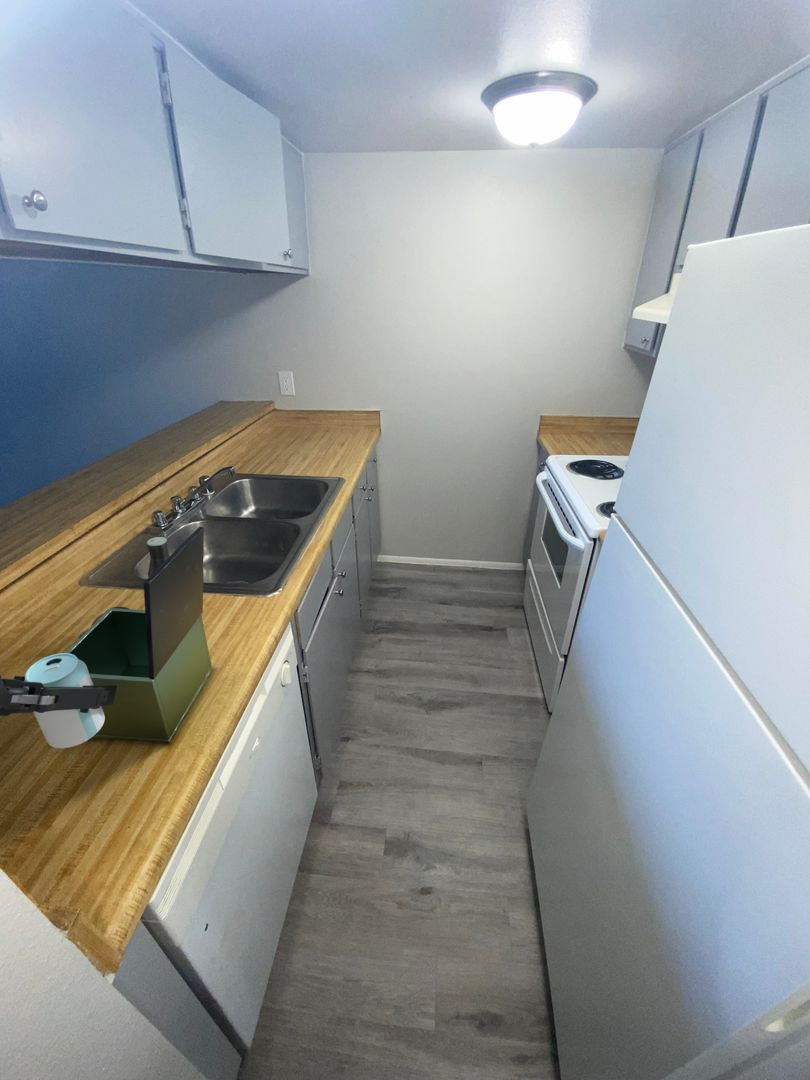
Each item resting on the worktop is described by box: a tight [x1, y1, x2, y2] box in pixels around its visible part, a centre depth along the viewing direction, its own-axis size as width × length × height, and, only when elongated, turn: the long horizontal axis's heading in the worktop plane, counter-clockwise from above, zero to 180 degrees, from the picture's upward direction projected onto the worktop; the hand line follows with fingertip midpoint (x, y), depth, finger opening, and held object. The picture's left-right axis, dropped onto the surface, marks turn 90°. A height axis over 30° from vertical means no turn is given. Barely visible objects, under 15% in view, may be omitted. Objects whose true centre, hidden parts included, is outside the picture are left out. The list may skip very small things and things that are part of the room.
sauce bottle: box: [146, 536, 171, 578], centre depth 107 cm, size 7×6×20 cm
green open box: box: [64, 607, 214, 745], centre depth 85 cm, size 18×18×14 cm
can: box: [24, 652, 105, 749], centre depth 65 cm, size 7×7×12 cm
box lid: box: [143, 526, 205, 680], centre depth 77 cm, size 18×18×1 cm
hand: (86, 693), depth 69 cm, fingers closed on can, 7 cm apart
